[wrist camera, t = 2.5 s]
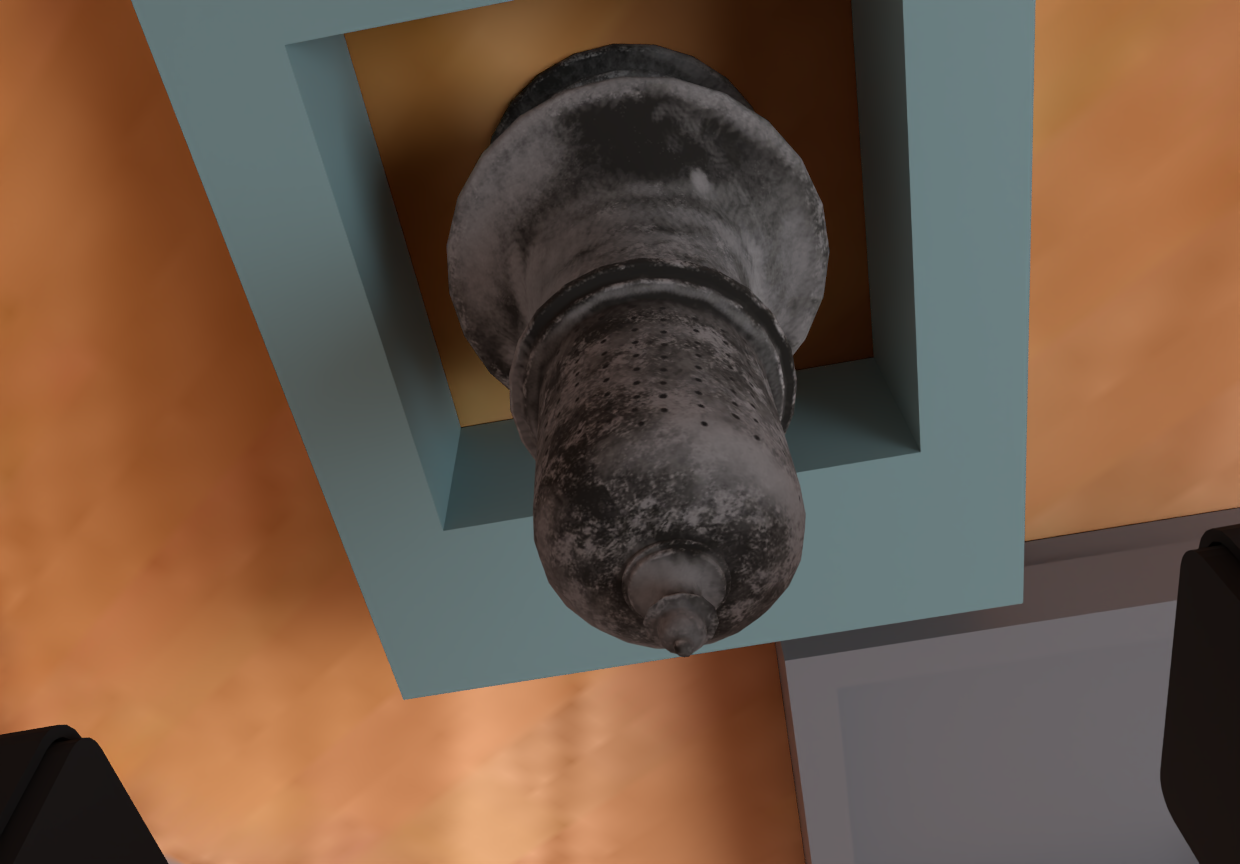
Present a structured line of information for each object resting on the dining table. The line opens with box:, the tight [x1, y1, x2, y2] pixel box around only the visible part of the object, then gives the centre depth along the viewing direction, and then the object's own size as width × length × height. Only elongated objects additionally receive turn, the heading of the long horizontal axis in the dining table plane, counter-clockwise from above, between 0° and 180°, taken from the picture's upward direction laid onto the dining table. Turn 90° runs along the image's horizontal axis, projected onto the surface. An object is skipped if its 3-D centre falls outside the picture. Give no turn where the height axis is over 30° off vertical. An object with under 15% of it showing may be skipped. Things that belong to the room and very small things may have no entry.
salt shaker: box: [447, 44, 830, 657], centre depth 15 cm, size 6×6×12 cm
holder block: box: [131, 0, 1035, 700], centre depth 18 cm, size 16×12×4 cm
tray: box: [775, 508, 1240, 864], centre depth 27 cm, size 13×13×2 cm
